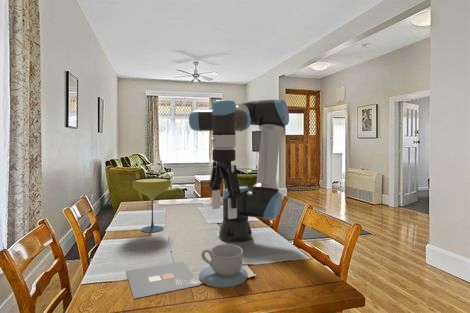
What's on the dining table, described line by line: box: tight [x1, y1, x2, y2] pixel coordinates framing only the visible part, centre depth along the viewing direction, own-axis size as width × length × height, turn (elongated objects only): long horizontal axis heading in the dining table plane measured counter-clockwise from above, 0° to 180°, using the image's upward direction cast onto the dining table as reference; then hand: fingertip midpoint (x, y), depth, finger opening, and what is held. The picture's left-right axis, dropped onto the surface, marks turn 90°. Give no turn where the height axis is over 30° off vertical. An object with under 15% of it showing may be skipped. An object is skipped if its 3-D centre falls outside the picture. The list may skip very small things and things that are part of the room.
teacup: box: [201, 243, 244, 277], centre depth 105 cm, size 14×11×8 cm
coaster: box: [198, 265, 248, 289], centre depth 104 cm, size 16×16×1 cm
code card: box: [125, 261, 201, 300], centre depth 102 cm, size 20×20×1 cm
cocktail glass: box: [132, 176, 172, 234], centre depth 154 cm, size 18×18×25 cm
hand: (223, 213), depth 102 cm, fingers open, 13 cm apart
